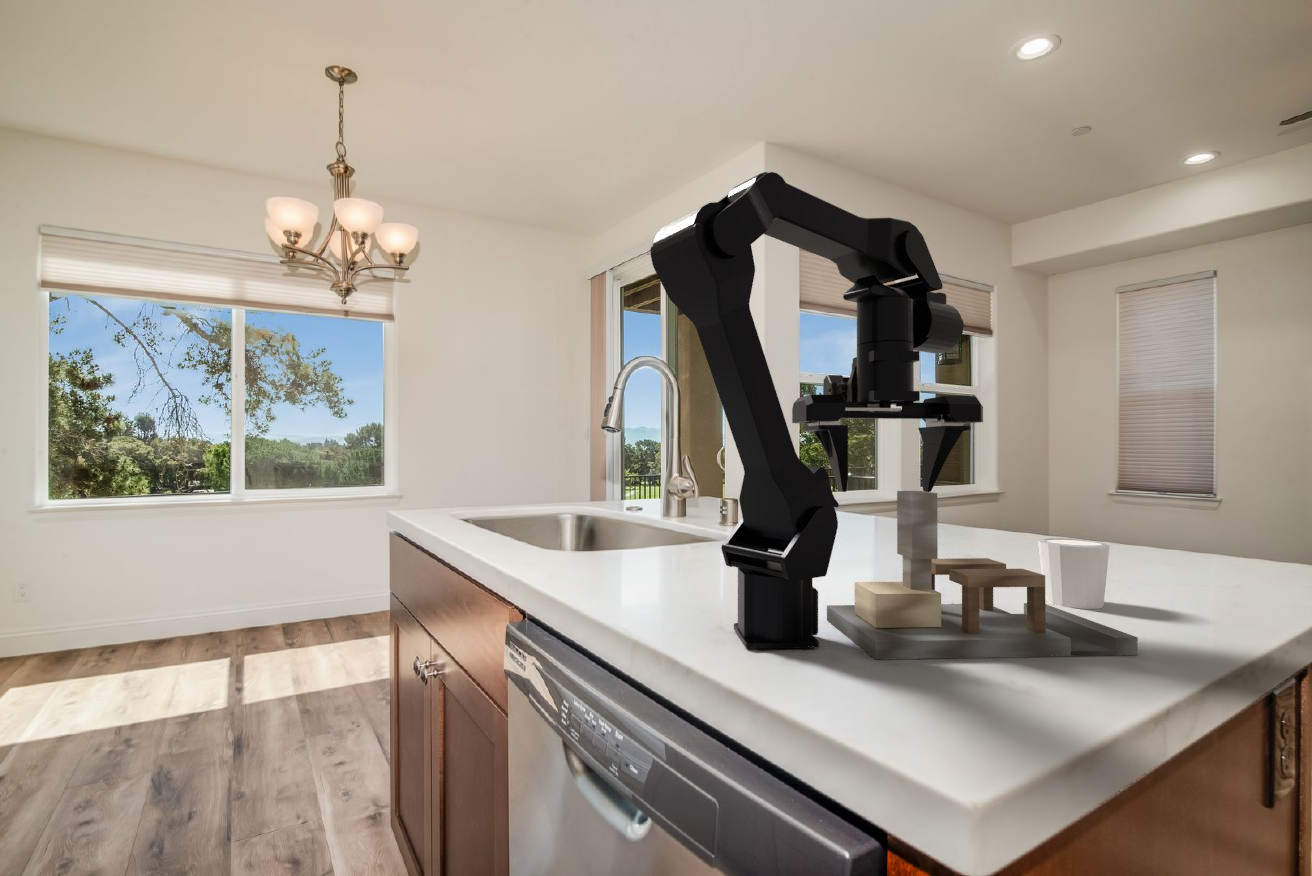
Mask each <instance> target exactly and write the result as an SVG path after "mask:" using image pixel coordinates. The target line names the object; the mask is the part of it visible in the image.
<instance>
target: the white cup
mask: <svg viewBox="0 0 1312 876" xmlns="http://www.w3.org/2000/svg"><path fill="white" fill-rule="evenodd" d="M1037 543H1038V552H1039V561H1040V571H1041V574H1042V575H1045V602H1046V601H1047V602H1046V603H1049V604H1052V605H1055V606H1059V605H1060V607H1064V608H1071V609H1082V610H1097V609H1102V608H1103V607H1105V606H1104V604H1105V595H1106V584H1107V576H1108V566H1109V565H1108V564H1109V556H1110V547H1111V545H1109V544H1107V543H1104V542H1099V541H1094V540H1086V539H1078V538H1077V539H1076V538H1059V537H1057V538H1044V539H1038V540H1037Z"/></svg>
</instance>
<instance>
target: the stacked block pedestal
mask: <svg viewBox="0 0 1312 876" xmlns="http://www.w3.org/2000/svg"><path fill="white" fill-rule="evenodd" d="M896 511H897V512H896V521H897V522H896V529H897V530H896V552H897V554H898V555H900V556H901V557H902V581H855V582H854V605H855V614H856V615H858V616H859V617H861V618H862V619H864V620H865V621H867V622H868V623H870V624H871V625H873V626H874V627H875V628H904V627H941V604H942V593H941V592H939V591H937V590H936V589H935V590H933V589H932V559H939V558H938V550H939V549H938V548H939V547H938V542H939V540H938V492H932V491H931V492H925V491H923V490H897V491H896Z"/></svg>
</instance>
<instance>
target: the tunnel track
mask: <svg viewBox="0 0 1312 876" xmlns="http://www.w3.org/2000/svg"><path fill="white" fill-rule="evenodd" d="M947 575H948V576H949V578H948V579H949V581H951V582H954V583H956V584H958V585H961V603H941V627H904V628H875V627H874V626H873V625H871V624H870V623H868V622H867V621H865V620H864V619H862V618H861V617H859V616H858V615H856V614H855V604H848V605H847V604H842V605H841V604H840V605H834V604H833V605H831V604H829V605H826V621H827V622H828V623H829V624H831V625H832V626H833V627H834V628H835V629H837V630H838V631H840V632H841V633H842V634H843V635H845V637H847V638H849V639H850V640H851V641H852V642H853V643H854V644H855V645H857V646H858V647H859V648H860V649H861V650H863V651H864V652H866V653H867V654H868V655H869V656H871V657H872V658H873V659H874V660H919V659H920V660H923V659H925V660H927V659H931V660H932V659H975V658H977V659H979V658H980V659H981V658H984V659H985V658H987V659H988V658H1032V657H1033V658H1039V657H1041V658H1043V657H1088V656H1089V657H1090V656H1091V657H1093V656H1094V657H1096V656H1098V657H1099V656H1101V657H1102V656H1103V657H1104V656H1105V657H1106V656H1138V655H1139V652H1138V651H1139V649H1138V648H1139V646H1138V645H1139V644H1138V641H1139V640H1138V639H1139V637H1137V636H1135V635H1132V634H1129V633H1127V632H1123V631H1121V630H1118V629H1116V628H1112V627H1110V626H1108V625H1105V624H1101V623H1099V622H1096V621H1094V620H1091V619H1088V618H1085V617H1082V616H1079V615H1077V614H1074V613H1071V612H1068V611H1066V610H1063V609H1059V608H1057V607H1055V606H1052V605H1049V604H1046V601H1045V575H1042V573H1038V572H1035V571H1032V570H1028V569H1026V568H1007V563H1005V562H1001V561H998V560H993V559H991V558H987V557H984V558H983V557H982V558H981V557H978V558H977V557H974V558H971V557H970V558H966V557H965V558H938V559H932V589H933V590H935V591H936V576H947ZM994 588H1026V602H1024V603H1023V613H1011V612H1008V611H1006V610H1004V609H1001V608H1000V607H999V608H998V607H996V606H994Z"/></svg>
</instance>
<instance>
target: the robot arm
mask: <svg viewBox="0 0 1312 876" xmlns="http://www.w3.org/2000/svg"><path fill="white" fill-rule="evenodd" d="M763 235H765V236H768V237H771V238H774V239H775V240H779V241H781V242H783V243H786V244H789V245H791V246H794V247H797V248H799V249H801V250H804V251H807V252H809V253H811V254H813V255H817V256H819V257H821V258H824V259H826V260H829V261H831V262H833V263H834V264H836V268H837V270H838V272H839V275H840V276H841V277H843V278H845V279H846V280H848V281H849V282H851V283H852V284H853V285H852V286H851V287H849V289H848V290H847V291H845V292H844V294H843V295H842V297H843V300H844V301H847V302H852V303H856V357H853V358H852V363H851V371H850V374H849V377H844V376H843V375H842V374H827V375H826V376H825V377H824V379H823V383H822V384H823V386H822V387H823V388H822V390H823V391H822V394H808V395H804V396H801V397H798V398H797V399H796V400H795V401H794V402H793V405H792V408H791V409H792V411H791V413H792V414H791V415H792V417H791V423H792V424H808V426H804V427H803V429H804V431H805V432H812V433H813V434H814V435H815V438H817V440H818V441H819V443H820V444H821V446H822V448H823V450H824V452H825V454H826V457H827V459H828V463H829V465H830V468H831V471H832V473H833V477H834V480H835V482H836V485H837V488H838V490H839V492H842V493H846V492H847V489H848V481H849V425H848V424H842V419H865V420H867V419H870V420H874V419H875V420H879V419H881V420H883V419H885V420H886V419H887V420H891V419H892V420H893V419H894V420H923V421H924V422H925V427H918V432H919V434H920V437H921V440H922V457H921V458H922V461H921V464H922V466H921V484H922V485H921V486H922V491H925V492H932V490H933V488H934V487H935V484H936V482H937V481H938V477H939V476H940V473H941V471H942V470H943V468H944V465H945V464H946V461H947V459H948V457H949V455H950V454H951V451H952V450H953V448H954V447H955V445H956V443H957V442H958V441H959V439H960V437H961V435H962V434H963V433H964V432H971V430H972V425H965V424H978V423H984V406H983V404H982V403H981V401H980V400H979V399H978V397H977V396H976V395H975V396H974V395H943V396H935V397H930V398H924V400H923V401H922V402H921V401H920V398H921V397H920V390H914V386H915V385H914V379H915V378H914V375H915V374H914V372H915V371H914V363H916V362H919V361H920V353H921V352H923V353H928V354H938V355H939V354H944V353H947V352H948V351H950V350H952V349H953V348H955V346H956V345H957V344H958V343H959V341H960V340H961V338H962V336H963V335H962V334H963V332H964V326H965V325H964V320H963V318H962V315H961V313H960V312H959V310H958V309H957V308H956V307H954V306H953V305H950V304H948V303H947V295H946V293H944V292H935V291H939V290H942V289H943V287H944V285H943V283H942V279H941V277H940V275H939V272H938V270H937V268H936V265H935V262H934V260H933V258H932V254H931V252H930V250H929V247H928V245H927V242H926V240H925V238H924V236H923V234H922V233H921V232H920V230H919V229H918V228H917V226H916V225H914V224H913V223H912V222H910V221H909V220H903V219H899V218H894V217H869V218H868V217H863V216H862V217H861V216H858V215H856V214H854V213H852V212H849V211H848V210H845V209H843V208H841V207H839V206H837V205H834V204H833V203H830V202H828V201H826V200H824V199H822V198H820V197H818V196H816V195H813V194H811V193H809V192H807V191H805V190H802V189H801V188H798V187H796V186H793V185H792V184H789V183H788V182H786V180H785V179H784V178H783V176H782V175H780V174H779V173H777V172H774V171H771V172H768V171H763V172H760V173H758V174H757V175H755V176H752V177H751V178H749V179H747V180H745V181H743V182H742V183H739V184H738V185H735V186H734V187H733V188H731V190H730V191H729V193H727V194H726V195H724V197H722V198H721V199H720V200H718V201H715V202H714V201H713V202H708V203H706V204H704V205H703V206H700V207H698V208H697V209H695V210H693V211H692V212H689V213H687V214H686V215H683V216H682V217H680V218H678V219H676V220H674V221H672V222H670V223H668V224H667V225H665V226H663V227H661V228H660V229H659V230H658V231H657V233H656V234H655V237H654V239H653V242H652V245H651V246H650V258H651V264H652V267H653V269H654V272H655V274H656V275H657V277H658V279H659V282H660V284H661V285H662V287H663V290H664V291H665V293H666V295H667V296H668V298H669V300H670V301H671V302H672V303H673V304H674V306H676V308H678V309H679V311H681V312H682V313H683V314H684V315H685V317H687V318H688V319H689V320H690V322H691V323H692V324H693V326H694V327H695V329H696V333H697V335H698V337H699V340H700V344H701V346H702V350H703V352H704V355H705V358H706V362H707V364H708V367H709V370H710V373H711V377H712V378H713V379H712V380H713V381H714V382H713V383H714V385H715V388H716V390H717V391H716V392H717V394H718V396H719V397H718V398H719V400H720V402H721V405H722V407H723V408H722V409H723V411H724V414H725V417H726V420H727V424H728V426H729V429H730V432H731V435H732V437H733V438H732V439H733V440H734V443H735V447H736V450H737V452H738V456H739V458H740V462H741V465H742V467H743V472H744V474H743V479H742V484H741V488H740V494H739V498H738V499H739V506H740V510H741V516H742V517H741V519H740V520H739V521H738V523H737V524H736V525H735V527H734V528H733V529H732V531H731V533H730V534H729V535H728V536H727V538H726V539H725V540H724V542H723V543H722V545H721V552H722V556H723V559H724V563H725V565H726V566H727V567H730V568H732V567H733V568H737V622H734V623H733V630H734V632H735V633H736V634H737V636H738V638H739V639H740V640H741V643H743V645H744V646H745V648H748V649H787V648H788V649H789V648H790V649H793V648H794V649H796V648H797V649H798V648H799V649H800V648H805V649H806V648H818V647H819V646H820V641H819V640H818V639H817V638H816V637H815V636H817V635H818V633H819V591H818V589H816V588H815V586H813V579H816V578H822V577H826V576H827V573H828V569H829V565H830V561H831V557H832V553H833V549H834V544H835V542H836V536H837V533H838V532H837V531H838V529H839V525H838V524H839V520H838V516H837V515H838V514H837V511H836V508H839V506H840V504H839V502H838V501H837V500H836V498H835V496H834V494H833V491H832V487H831V483H830V482H831V481H830V477H829V474H828V472H827V470H826V468H825V467H824V466H817V465H812V466H811V465H806V464H805V463H804V462H803V461H802V460H801V459H800V458H799V457H798V455H797V452H796V450H795V446H794V444H793V443H794V442H793V440H792V437H791V434H790V430H789V427H788V425H787V421H786V418H785V416H784V411H783V408H782V405H781V402H780V399H779V396H778V393H777V391H776V388H775V387H776V386H775V384H774V381H773V377H772V375H771V372H770V368H769V365H768V362H767V359H766V356H765V353H764V350H763V346H762V343H761V341H760V337H759V334H758V331H757V327H756V324H755V322H754V317H753V315H752V312H751V306H750V302H751V301H750V300H751V295H752V289H753V285H754V280H755V273H756V265H755V260H754V255H753V249H752V248H753V247H752V244H753V243H755V241H757V240H758V239H760V238H761V236H763ZM914 276H917V277H914ZM911 277H914V278H911ZM907 278H910V279H907ZM903 279H907V280H903ZM899 280H902V281H899ZM895 281H898V282H895ZM892 282H895V283H892ZM887 283H891V284H887ZM885 284H887V285H885ZM892 406H895V407H892Z"/></svg>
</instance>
